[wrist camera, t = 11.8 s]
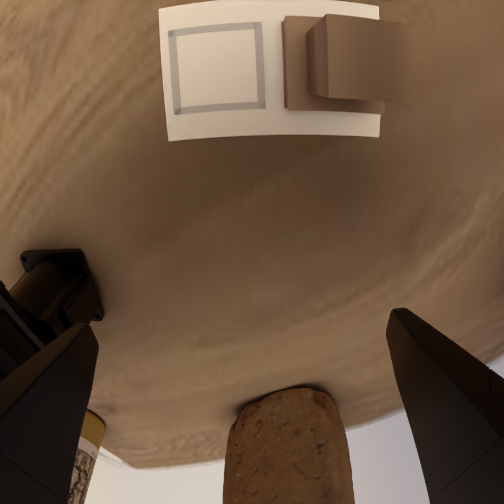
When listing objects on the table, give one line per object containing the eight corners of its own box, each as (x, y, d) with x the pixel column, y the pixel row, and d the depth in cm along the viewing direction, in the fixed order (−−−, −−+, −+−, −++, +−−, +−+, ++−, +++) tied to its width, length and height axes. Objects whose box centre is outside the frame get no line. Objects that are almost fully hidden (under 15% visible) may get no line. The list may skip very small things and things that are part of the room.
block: (326, 374, 27) (353, 590, 10) (344, 410, 31) (368, 582, 13) (220, 401, 30) (204, 593, 12) (252, 432, 33) (248, 592, 16)
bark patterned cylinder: (103, 412, 33) (57, 588, 11) (109, 434, 36) (72, 586, 15) (56, 395, 32) (-1, 559, 10) (66, 419, 35) (21, 563, 14)
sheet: (169, 140, 17) (168, 141, 17) (159, 9, 13) (158, 8, 13) (378, 136, 17) (379, 137, 17) (377, 6, 13) (379, 6, 13)
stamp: (285, 107, 16) (301, 123, 10) (282, 23, 14) (297, -12, 8) (370, 110, 16) (430, 132, 10) (369, 29, 13) (430, 9, 7)
